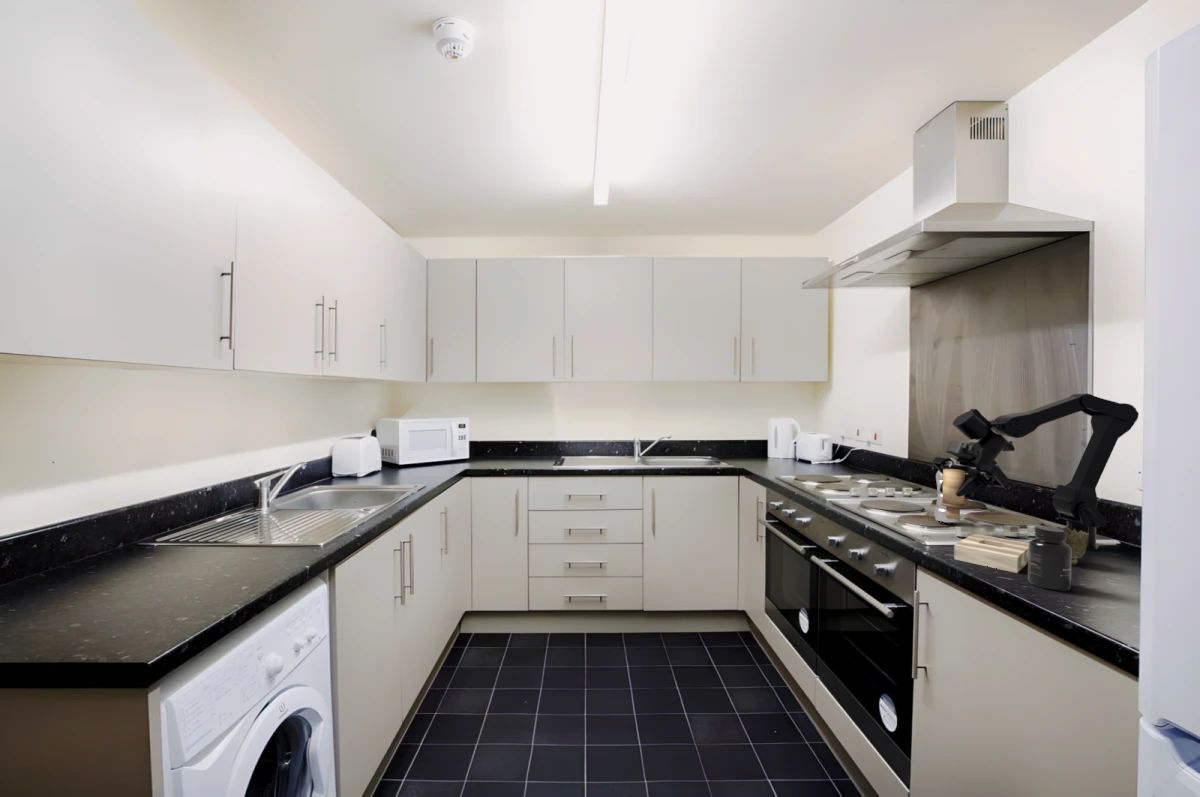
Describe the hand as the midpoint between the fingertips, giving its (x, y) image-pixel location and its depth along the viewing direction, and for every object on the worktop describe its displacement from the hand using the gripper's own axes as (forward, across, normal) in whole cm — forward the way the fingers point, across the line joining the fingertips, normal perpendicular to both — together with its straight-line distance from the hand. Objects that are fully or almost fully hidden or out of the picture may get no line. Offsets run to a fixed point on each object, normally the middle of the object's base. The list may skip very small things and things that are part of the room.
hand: (948, 493), depth 136 cm
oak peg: (+4, 0, +6) cm, 7 cm away
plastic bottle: (-3, -18, +22) cm, 29 cm away
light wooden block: (+9, +12, +10) cm, 18 cm away
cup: (-1, +18, +20) cm, 27 cm away
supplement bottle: (+12, +29, +7) cm, 32 cm away
